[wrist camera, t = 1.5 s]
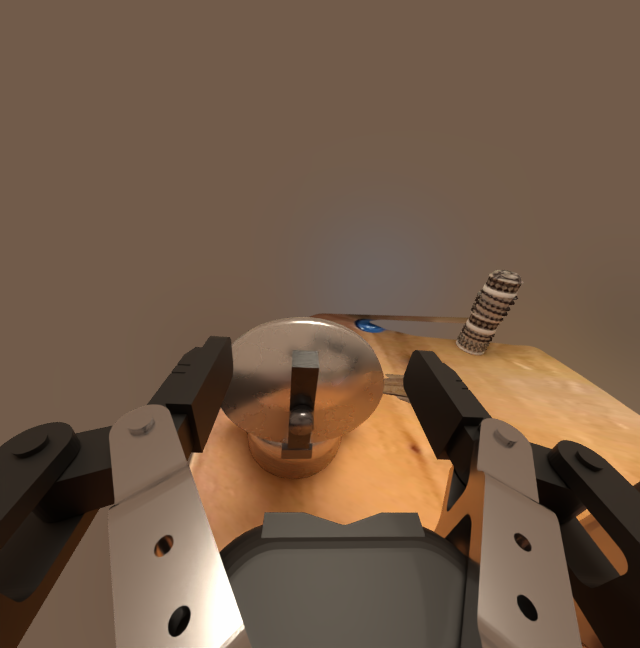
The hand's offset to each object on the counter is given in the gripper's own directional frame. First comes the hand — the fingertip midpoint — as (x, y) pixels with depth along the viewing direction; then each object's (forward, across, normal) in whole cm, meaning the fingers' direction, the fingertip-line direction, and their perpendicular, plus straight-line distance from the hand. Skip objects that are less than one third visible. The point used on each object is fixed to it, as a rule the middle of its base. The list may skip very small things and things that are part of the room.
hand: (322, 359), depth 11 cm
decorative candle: (+52, -55, +33) cm, 82 cm away
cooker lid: (+11, 0, +13) cm, 17 cm away
